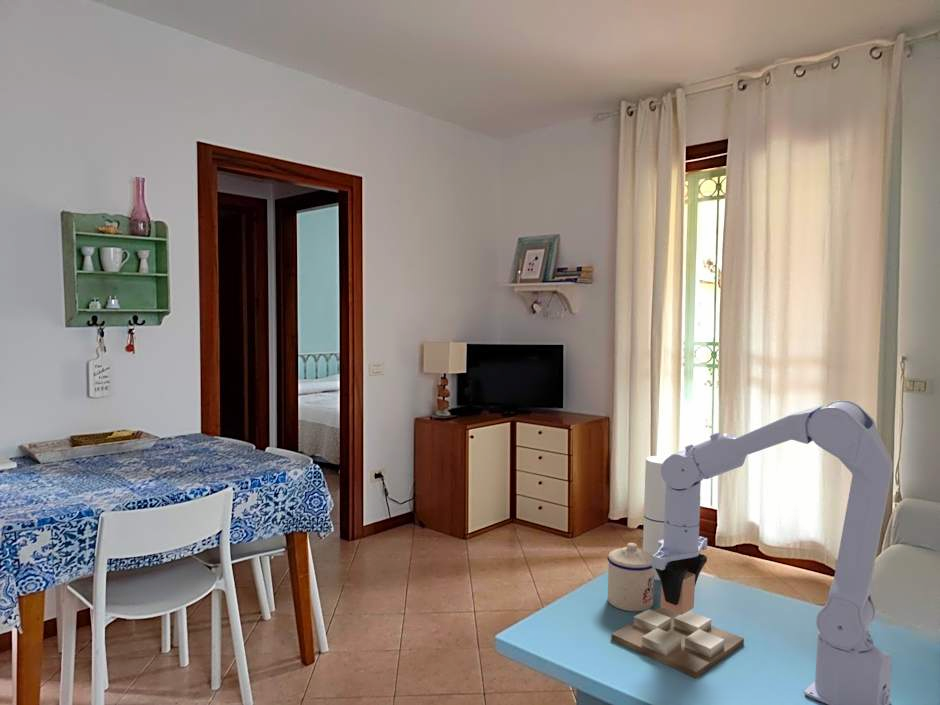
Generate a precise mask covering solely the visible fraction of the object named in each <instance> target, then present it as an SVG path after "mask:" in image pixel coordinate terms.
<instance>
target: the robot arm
mask: <svg viewBox="0 0 940 705" xmlns="http://www.w3.org/2000/svg"><path fill="white" fill-rule="evenodd" d="M709 437H710V439H708V440H706V441H703V442H701V443H699V444H695V445H694V444H689V445H686V446H685V447H684V450H681V451H678V452H677V453H673V454H671V455H670V456H668V458H667V459H666V460H665V461H664V462H663V464H662V466H661V475H662V478H663V480H664V481H665V483H666V493H665V516H664V540H660V541H658V546H661V547H660V549H659V550H658V552H657V553H656V554H655V555H653V556H652V567H654V568H655V570H656V571H657V573H658V576H659V578H660V584H662V588H663V593H664V597H665V601H666V602H668V603H671V604H673V605H677V604H678V602H679V599H680V592H681V586H682V582H683V579H684V576H685V574H686V572H690V573H693V574H695V586H696V584H697V582H698V579H699V575H700V573H701V571H702V569H703V567H704V566H705V565H706V563H707V562H708V561H707V560H708V557H707V556H706V555H705V554H701V551H705V550H707V549H708V538H707V537H704V536H700V517H701V515H700V514H701V485H702V483H701V482H702V481H703V480H708V479H711V478H714V477H716V476H720V475H722V474H725V473H727V472H730V471H733V470H735V469H738V468H741V467H743V466H744V464H745V461H746V458H747V456H748V455H751V454H754V453H757V452H760V451H762V450H765V449H768V448H771V447H774V446H776V445H780V444H783V443H785V442H788V441H795V442H799V443H801V444H802V443H803V444H806V445H808V444H810V443H811V442H812V441H813V442H814V444H816V445H817V446H818V447H819V448H821V449H822V450H824V451H825V452H827V453H829V454H831V455H832V456H834V457H835V458H837V459H838V460H839V461H840V462H841V463H842V464H843V465H844V466H845V467H846V469H848V470H849V472H850V473H851V474H852V477H851V483H850V486H849V487H850V489H849V493H848V498H847V499H848V500H847V505H846V509H845V510H846V511H845V515H844V521H843V525H842V531H841V532H842V533H841V538H840V543H839V548H838V555H837V560H836V565H835V571H834V576H833V580H832V582H831V586H830V588H829V592H828V596H827V601H826V603H825V605H824V606H823V607H822V608H821V609H820V610H819V611H818V613H817V615H816V621H815V622H816V628H817V639H816V640H817V641H816V643H817V644H816V659H815V674H814V675H815V676H814V677H815V678H814V679H815V680H814V681H813V682H812V683H811V684H810V685H808V686H807V688H805V690H803V694H804V695H805V696H807V697H809V698H812V699H814V700H817V701H818V702H822V703H823V704H826V705H890V704H891V702H892V699H891V684H892V683H891V682H892V672H893V671H892V670H893V660H892V656H891V655H890V654H889V653H888V652H885V651H883V650H882V649H880V648H878V647H877V646H876V645H875V644H874V639H873V638H872V635H871V634H870V631H869V627H870V625H871V623H872V622H873V621H874V618H875V615H876V606H875V604H874V601H873V599H872V590H873V575H874V569H875V565H876V560H877V555H878V549H879V544H880V539H881V534H882V527H883V522H884V517H885V511H886V506H887V503H888V502H887V501H888V497H889V490H890V486H891V480H892V475H893V469H894V467H893V466H894V462H893V460H892V458H891V455H890V454H889V451H888V450H887V448H886V446H885V444H884V441H883V440H882V437H881V435H880V433H879V431H878V428H877V424H876V422H875V420H874V418H873V417H871V415H870V414H869V413H868V412H866V411H865V410H864V409H863V408H862V407H861V406H860V405H859V404H857V403H855V402H854V401H850V400H844V399H841V400H835V401H832V402H831V403H829V404H827V406H825V407H824V405H819V406H815V407H811V408H807V409H804V410H800V411H797V412H793V413H791V414H789V415H786V416H784V417H782V418H780V419H777V420H775V421H773V422H770V423H768V424H766V425H764V426H761V427H759V428H757V429H754V430H752V431H749V432H747V433H745V434H743V435H740V436H736V435H733V434H731V433H728V432H726V433H723V434H721V433H720V431H719V432H716V433H713V434H711V435H709Z"/></svg>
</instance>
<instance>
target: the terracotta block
mask: <svg viewBox="0 0 940 705" xmlns="http://www.w3.org/2000/svg"><path fill="white" fill-rule="evenodd" d="M660 584H661V583H660ZM695 589H696V585H695V574H693V573H690V572H686V574H685V576H684V579H683V582H682V586H681V592H680V599H679V602H678V604H677V605H673V604H671V603H668V602H666V601H665V597H664V593H663V588H662V584H661V590H660V607H662V608H665V609H667V610H670V611H673V612H675V613H678V614H680V615H683V614H684V613H686V612H688V611H691V610H693V609H694V608H695V592H696V591H695Z"/></svg>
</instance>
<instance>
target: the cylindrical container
mask: <svg viewBox="0 0 940 705" xmlns="http://www.w3.org/2000/svg"><path fill="white" fill-rule="evenodd" d="M668 457H669V456H668V455H667V456H666V455H651V456H647V457H646V458H645V472H644V474H645V475H644V498H643V499H644V503H643V528H642V529H643V530H642V532H643V533H642V551H645V552H647V553H649V554H651V555H652V556H653V555H655V554H656V553H657V552H658V550H659V549H660V547H661V546H658V541H660V540H664V516H665V493H666V483H665V481H664V480H663V478H662V475H661V466H662V464H663V462H664V461H665V460H666V459H667V458H668ZM654 579H655V580H654V581H659V580H660V578H659V576H658V573H657V571H656V570H655V568H654Z"/></svg>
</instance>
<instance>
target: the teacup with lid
mask: <svg viewBox="0 0 940 705" xmlns="http://www.w3.org/2000/svg"><path fill="white" fill-rule="evenodd" d="M608 553H609V554H608V556H607V562H608V571H607V572H608V574H607V575H608V576H607V578H608V579H607V600H608V603H610V604H611V605H612V606H613V607H615V608H617V609H619V610H622V611H626V612H644V611H646V610H648V609H651V607H652V606H653V605H654V588H655V587H654V585H655V580H654V567H652V555H651V554H649V553H647V552H645V551H643V549H640V548H638V545H637V544H636V543H635V542H629V543H627V544H626V546H624V547H622V548H617V549H616V548H615V549H613V550H611V551H610V552H608ZM652 608H653V607H652Z"/></svg>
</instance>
